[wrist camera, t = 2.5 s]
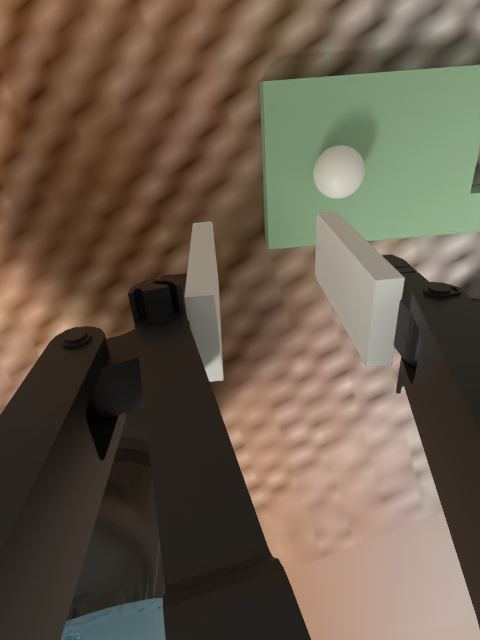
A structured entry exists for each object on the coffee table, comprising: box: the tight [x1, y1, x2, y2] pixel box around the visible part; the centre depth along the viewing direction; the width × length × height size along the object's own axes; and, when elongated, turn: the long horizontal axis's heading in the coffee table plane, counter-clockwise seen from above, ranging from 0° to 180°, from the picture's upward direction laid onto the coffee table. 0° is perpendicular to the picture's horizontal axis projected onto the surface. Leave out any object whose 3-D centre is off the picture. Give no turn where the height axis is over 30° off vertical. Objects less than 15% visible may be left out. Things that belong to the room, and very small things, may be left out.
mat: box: [259, 65, 480, 250], centre depth 31 cm, size 26×12×4 cm, turn 94°
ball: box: [313, 145, 365, 199], centre depth 29 cm, size 4×4×4 cm
